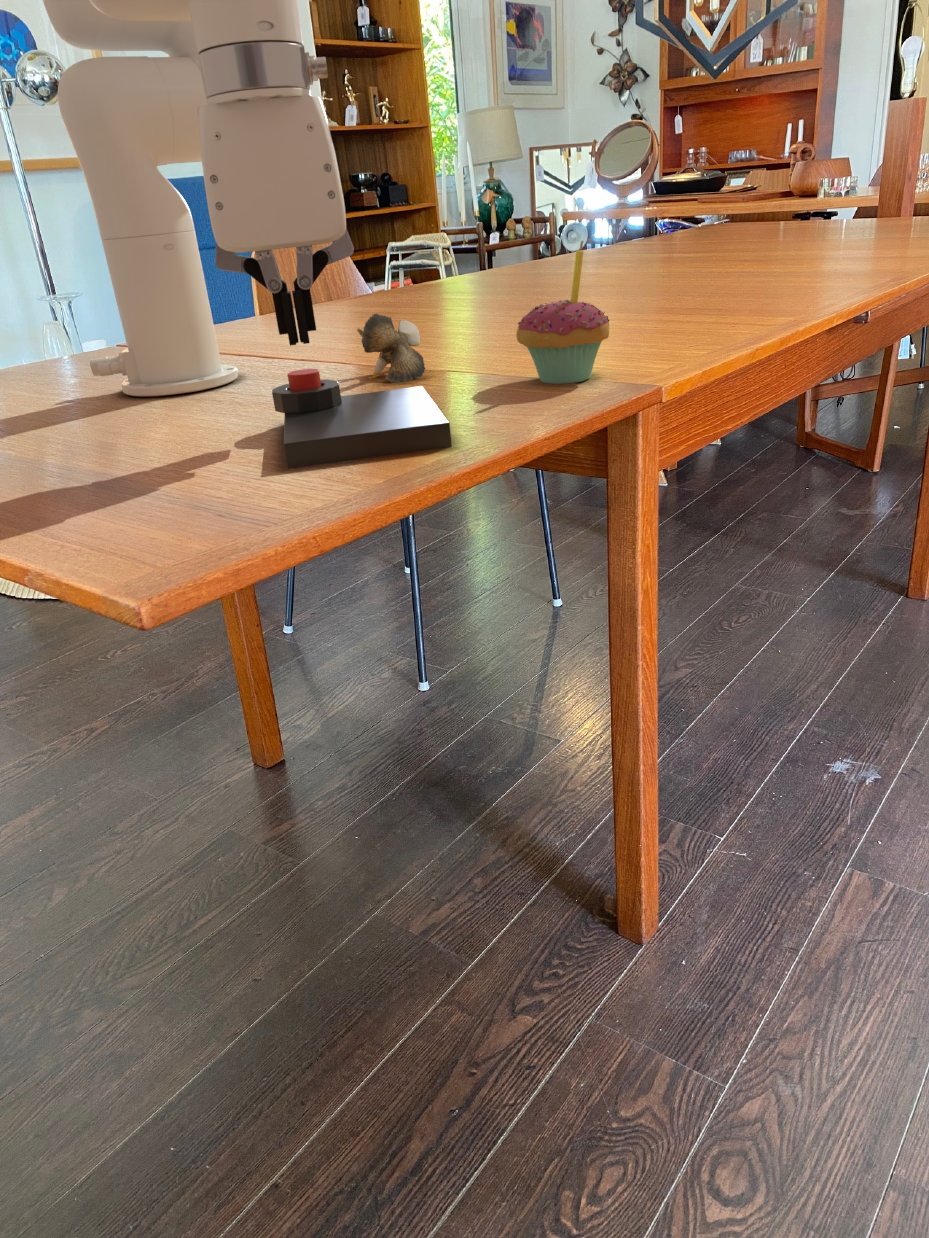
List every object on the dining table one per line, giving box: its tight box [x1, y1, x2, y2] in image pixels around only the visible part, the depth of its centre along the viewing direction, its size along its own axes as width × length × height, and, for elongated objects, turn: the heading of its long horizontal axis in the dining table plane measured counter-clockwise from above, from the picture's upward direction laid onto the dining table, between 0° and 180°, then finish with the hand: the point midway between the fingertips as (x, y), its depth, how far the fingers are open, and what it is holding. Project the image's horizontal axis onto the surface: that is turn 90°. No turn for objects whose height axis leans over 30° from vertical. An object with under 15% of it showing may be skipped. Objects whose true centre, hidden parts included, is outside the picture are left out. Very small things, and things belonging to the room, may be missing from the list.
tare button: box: [286, 368, 322, 391], centre depth 75 cm, size 3×3×2 cm
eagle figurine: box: [356, 313, 426, 384], centre depth 94 cm, size 8×7×9 cm
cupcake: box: [515, 240, 610, 385], centre depth 83 cm, size 9×8×12 cm
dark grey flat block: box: [271, 379, 453, 469], centre depth 72 cm, size 13×15×4 cm
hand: (299, 342), depth 73 cm, fingers closed
